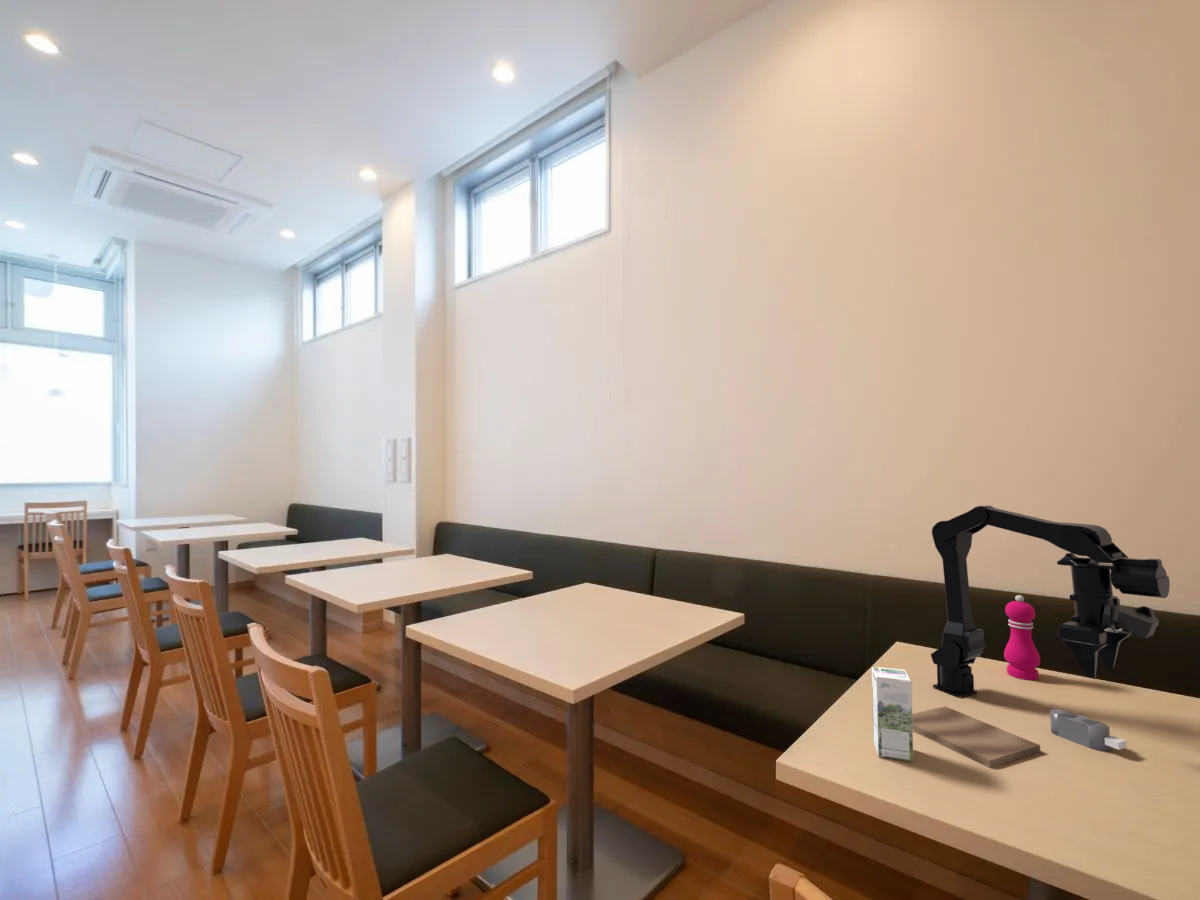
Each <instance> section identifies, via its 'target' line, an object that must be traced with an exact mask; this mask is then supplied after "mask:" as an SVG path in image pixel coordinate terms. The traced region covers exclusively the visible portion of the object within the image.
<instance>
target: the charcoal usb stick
mask: <svg viewBox="0 0 1200 900" xmlns="http://www.w3.org/2000/svg"><path fill="white" fill-rule="evenodd" d="M1049 711H1050V712H1049V713H1050V715H1049V716H1050V732H1051V733H1052V735H1054V736H1057V737H1060V738H1061V739H1065V740H1068V741H1070V742H1073V743H1075V744H1077V745H1080V746H1084V747H1086V748H1089V749H1091V750H1093V751H1094V750H1095V751H1098V752H1110V751H1111V748H1113V749H1116V750H1118V751H1119V750H1122V749H1126V748H1127V740H1126V739H1124V738H1120V737H1117V736H1115V735H1111V733H1110V732H1111V731H1110V726H1109V725H1107V724H1106V723H1104V722H1101V721H1098V720H1095V719H1093V718H1089V717H1087V716H1083V715H1080V714H1078V713H1075V712H1072V711H1069V710H1065V709H1062V708H1061V709H1060V708H1051V709H1050V710H1049Z"/></svg>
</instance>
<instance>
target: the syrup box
mask: <svg viewBox="0 0 1200 900" xmlns="http://www.w3.org/2000/svg"><path fill="white" fill-rule="evenodd" d="M912 687H913V683H912V681H911V679H910V677H909V675H908V673H907V671H906V669H899V668H891V667H890V668H888V667H879V666H872V667H871V692H872V694H871V695H872V698H871V699H872V738H873V740H872V741H873V744H874V747H875V751H876V753H877V756H878V757H880V758H886V759H891V760H892V759H893V760H898V761H906V762H914V741H913V740H914V737H913V736H914V734H913V733H914V731H913V727H912V714H913V688H912Z"/></svg>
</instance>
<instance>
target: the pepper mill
mask: <svg viewBox="0 0 1200 900" xmlns="http://www.w3.org/2000/svg"><path fill="white" fill-rule="evenodd" d="M1014 599H1015V600H1012V601H1010V602H1008V603H1007V604H1006V605H1005V615H1006V616H1007V617H1008V618H1009V619H1008V620H1007V622H1008V624H1007V625H1008V626H1009V627H1010V636H1009V640H1008V641H1007V644H1006V646H1005V649H1004V650H1003V651H1004V652H1003V657H1004V659H1005V661H1006V662H1007V663H1008V665H1006V673H1007V675H1008V676H1010V677H1013V678H1017V679H1019V680H1025V681H1026V680H1027V681H1035V680H1038V679H1039V676H1040V675H1039V670H1038V669H1037V667H1039V666H1040V665H1041V656H1040V653H1039V652H1038V650H1037V648H1036V645H1035V643H1034V641H1033V638H1032V629H1034V622H1032V621H1033V620H1034V619H1035V618H1036V611H1035V608H1034V607H1033V606H1032V605H1031V604H1030V603H1028V602H1027V601H1025V597H1024V596H1023V595H1020V594H1018V595H1015V597H1014Z"/></svg>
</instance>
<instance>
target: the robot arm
mask: <svg viewBox="0 0 1200 900" xmlns="http://www.w3.org/2000/svg"><path fill="white" fill-rule="evenodd" d="M987 526H991V527H995V528H999V529H1002V530H1006V531H1009V532H1012V533H1013V532H1014V533H1018V534H1022V535H1026V536H1029V537H1033V538H1037V539H1040V540H1043V541H1046V542H1048V543H1050V544H1052V545H1054V546H1055V547H1056V548H1059V549H1062V550H1064V551H1066V552H1067V553H1066V554H1065V555H1064V556H1063V557H1062V558H1061V559H1059V560H1058V561H1056V564H1057V565H1059V566H1069V567H1070V571H1071V580H1072V591H1073V593H1072V594H1069V600H1070V601H1073V602H1074V612H1075V613H1074V615H1072V616H1071V621H1067V622H1064V623H1061V624H1060V625H1058V626H1057V627H1056V632H1057V634H1056V635H1057V638H1058V639H1060V640H1061V642H1062V643H1064V644H1065V646H1066V647H1067V649H1068V651H1070V653H1071V654H1072V656H1073V657H1074V659H1075V660H1076V661H1077V663H1078V665H1079V667H1080V668H1081V669H1082V671H1083V673H1084V674H1085V675H1086V677H1087V678H1089V679H1095V678H1097V675H1096V674H1097V668H1098V656H1099V657H1100V659H1101V661H1102V663H1103V665H1104V667H1105V668H1106V669H1109V670H1113V669H1114V668H1115V665H1116V660H1117V657H1118V652H1119V649H1120V645H1121V642H1122V641H1123V640H1125V639H1126V638H1128V637H1130V636H1132V634H1134V635H1135V636H1137V637H1139V638H1142V639H1149V638H1150V637H1153V636H1154V633H1155V632H1156V629H1157V627H1158V626H1159V625H1160V623H1159V622H1160V620H1159V618H1158V617H1156V615H1155V611H1154V609H1153V608H1151V607H1148V606H1145V605H1141V606H1139V607H1137V608H1136V609H1133V607H1126V606H1124V605H1122V604H1121V601H1120V598H1118V596H1116V595H1114V593H1113V587H1114V589H1115V590H1119V592H1120V593H1121V594H1124V595H1129V596H1130V595H1131V596H1139V597H1140V596H1142V597H1151V598H1158V599H1159V598H1160V599H1166V598H1168V596H1169V593H1170V589H1171V586H1170V577H1169V576H1168V575H1167V574H1168V573H1167V572H1166V569H1165V567H1164V566H1163V561H1162V559H1161V558H1147V559H1145V558H1131V557H1129V556H1127V555H1126V553H1125V552H1123V551H1122V549H1120V547H1118V546H1117V544H1115V543H1114V542H1113V539H1112V535H1111V534H1110V533H1109V531H1107V529H1106V528H1104V527H1102V526H1100V525H1096V524H1089V523H1088V524H1087V523H1078V522H1077V523H1076V522H1074V523H1073V522H1062V521H1061V522H1060V521H1052V520H1047V519H1044V518H1039V517H1035V516H1032V515H1026V514H1021V513H1018V512H1014V511H1011V510H1010V511H1009V510H1005V509H1000V508H996V507H994V506H992V505H978V506H975V507H973V508H971V509H970V510H968V511H967V512H964V513H961V514H960V515H957V516H955V517H953V518H950V519H949V520H939V521H938V522H936V523H935V524H934V525H933V526H932V528H931V535H932V540H933V544H934V546H935V549H936V550H937V552H938V554H939V556H940V557H941V559H942V569H943V579H944V591H945V603H946V614H947V621H946V624H945V626H944V629H943V630H942V635H941V636H942V637H941V638H942V639H941V646H940V647H938V648H937V649H936V650H935V651H933V652H932V653H930V658H931V661H932V663H933V664H934V665H936V678H937V680H936V681H937V683H934V684H933V685H932V688H934V689H936V690H940V691H942V692H943V693H947V694H950V695H952V696H955V697H957V698H960V697H961V698H962V697H965V696H970V695H974V694H978V690H976V689H975V680H974V679H975V678H974V677H975V676H974V674H973V669H972V666H970V665H971V664H972V665H973V664H975V661H976V659H977V658H979V657H980V656H981V655H983V652H984V649H985V648H986V647H987V645H986V643H985V639H984V637H985V631H984V629H983V628H981V629H980V628H977V627H976V625H975V624H974V621H973V618H972V605H971V604H972V603H971V597H970V596H971V595H970V585H969V574H968V573H969V572H968V562H967V558H968V556H969V553H970V550H971V548H972V545H973V544H972V543H973V535H974V534H976V533H979V532H980V531H982V530H984V529H985V528H986V527H987ZM1123 630H1124V631H1123Z"/></svg>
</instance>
